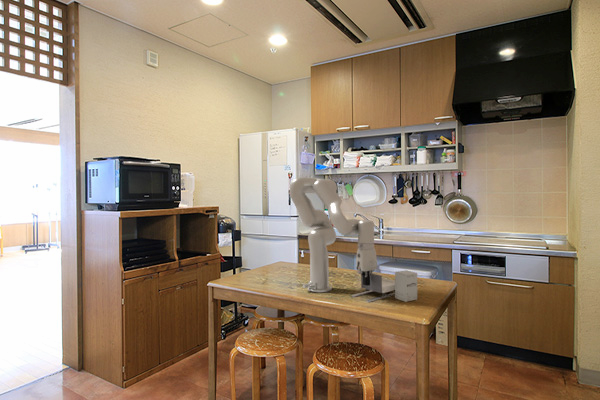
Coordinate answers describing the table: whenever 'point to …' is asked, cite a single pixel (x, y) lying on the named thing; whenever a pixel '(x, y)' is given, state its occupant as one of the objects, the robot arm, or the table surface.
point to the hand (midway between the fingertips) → (366, 284)
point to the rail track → (373, 298)
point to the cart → (379, 284)
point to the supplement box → (406, 285)
